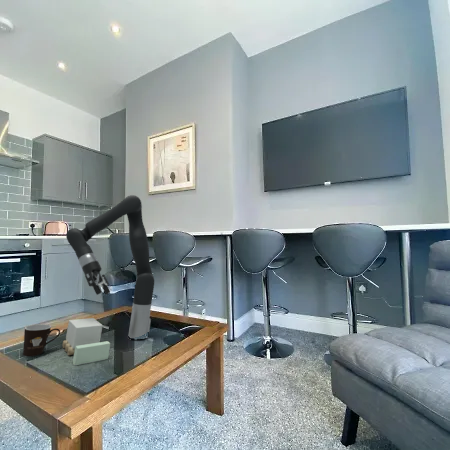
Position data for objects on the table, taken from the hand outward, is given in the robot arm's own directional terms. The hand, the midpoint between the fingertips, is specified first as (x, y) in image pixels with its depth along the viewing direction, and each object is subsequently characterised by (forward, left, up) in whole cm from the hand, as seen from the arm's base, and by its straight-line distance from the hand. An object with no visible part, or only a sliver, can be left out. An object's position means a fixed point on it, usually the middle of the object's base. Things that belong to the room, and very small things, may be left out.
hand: (103, 293), depth 116 cm
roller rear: (+7, -2, -23) cm, 24 cm away
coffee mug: (+22, 0, -23) cm, 32 cm away
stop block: (+7, +17, -23) cm, 29 cm away
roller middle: (+7, +3, -23) cm, 24 cm away
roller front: (+7, +7, -23) cm, 25 cm away
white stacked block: (+7, +3, -20) cm, 21 cm away
